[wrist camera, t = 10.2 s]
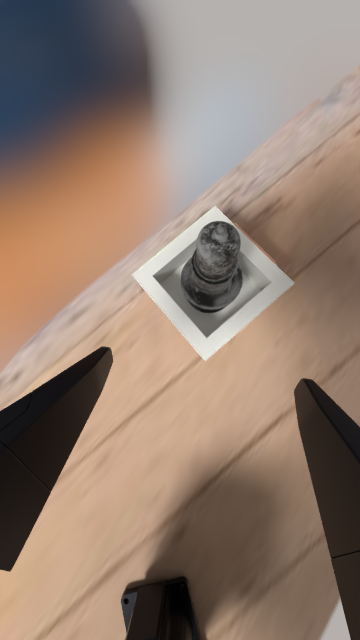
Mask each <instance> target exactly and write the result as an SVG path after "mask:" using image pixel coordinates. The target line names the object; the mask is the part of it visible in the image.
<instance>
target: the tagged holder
mask: <svg viewBox="0 0 360 640" xmlns="http://www.w3.org/2000/svg"><path fill="white" fill-rule="evenodd" d="M214 221H224V222H227V223H230V224H231V225H233V226H234V227H235V228H236V229H237V231H238V233H239V235H240V240H241V245H240V250H239V253H238V255H237V257H238V265H239V267H240V269H241V271H242V277H243V282H242V288H241V290H240V293H239V295H238V296H237V297H236V298H235V300H234V301H233V302H231V303H230V304H229V305H227V306H226V307H225V308H224V309H222V310H221V311H218V312H216V313H203V312H200V311H198V310H196V309H195V308H193V307H192V306H191V304H190V303H189V302H188V299H187V297H186V296H185V295H184V293H183V290H182V288H181V281H180V278H181V272H182V270H183V267H184V265H185V264H186V263H187V261H188V260H189V259H190V258H191V257H192V256H193V253H194V251H195V250H196V242H197V237H198V235H199V233H200V231H201V229H202V228H203V227H204V226H205V225H207V224H208V223H211V222H214ZM276 263H277V262H276V261H275V260H274V259H273V258H272V257H271V256H269V255H268V254H267V253H266V252H265V251H264V250H263V249H262V248H261V247H260V246H259V245H258V244H257V243H256V242H255V241H254V240H253V239H252V238H251V237H250V236H249V235H248V234H247V233H246V232H245V231H244V230H243V229H242V228H241V227H240V226H238V225H237V224H236V223H235V222H234V223H232V222H231V221H230V220H229V219H228V218H227V217H226V216H225V215H224V214H223V213H222V212H221V211H220V210H219V209H218V208H217V207H216V206H214V207H213V208H212V209H211V210H209V211H208V212H207V213H206V214H205V215H203V216H202V217H201V218H200V219H199V220H197V221H196V222H195V223H194V224H193V225H191V226H190V227H189V228H188V229H186V230H185V231H184V232H183V233H182V234H180V235H179V236H178V237H177V238H176V239H174V240H173V241H172V242H171V243H170V244H168V245H167V246H166V247H165V248H163V249H162V250H161V251H160V252H159V253H157V254H156V255H155V256H154V257H153V258H151V259H150V260H149V261H148V262H147V263H145V264H144V265H143V266H142V267H140V268H139V269H138V270H137V271H136V272H134V273H133V274H132V276H133V277H134V278H135V279H136V281H137V282H138V283H139V284H140V286H141V287H142V288H143V289H144V290H145V291H146V293H147V294H148V295H149V296H150V297H151V298H152V300H153V301H154V302H155V303H156V304H157V306H158V307H159V308H160V309H161V310H162V311H163V313H164V314H165V315H166V316H167V317H168V318H169V320H170V321H171V322H172V323H173V324H174V325H175V327H176V328H177V329H178V330H179V331H180V333H181V334H182V335H183V336H184V337H185V338H186V340H187V341H188V342H189V343H190V344H191V345H192V347H193V348H194V349H195V350H196V351H197V353H198V354H199V355H200V356H201V357H202V358H203V360H204V361H206V360H207V359H208V358H209V357H210V356H212V355H213V354H214V353H215V352H216V351H217V350H219V349H220V348H221V347H222V346H223V345H224V344H225V343H227V342H228V341H229V340H230V339H231V338H232V337H234V336H235V335H236V334H237V333H238V332H239V331H240V330H242V329H243V328H244V327H245V326H246V325H247V324H249V323H250V322H251V321H252V320H253V319H254V318H255V317H257V316H258V315H259V314H260V313H261V312H262V311H264V310H265V309H266V308H267V307H268V306H269V305H270V304H272V303H273V302H274V301H275V300H276V299H277V298H279V297H280V296H281V295H282V294H283V293H284V292H285V291H287V290H288V289H289V288H290V287H291V286H292V285H294V284H295V283H294V282H293V281H292V280H291V279H290V278H289V277H288V276H287V275H286V274H285V273H284V272H283V271H282V270H281V269H280V268H279V267H278V266H277V265H276Z"/></svg>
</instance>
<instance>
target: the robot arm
mask: <svg viewBox="0 0 360 640" xmlns="http://www.w3.org/2000/svg"><path fill="white" fill-rule="evenodd" d="M112 363H113V356H112V351H111V348H109V347H100V348H99V349H97V350H96V351H94V352H92V353H91V354H89V355H88V356H86V357H85V358H83V359H82V360H80V361H78V362H77V363H75V364H74V365H72V366H71V367H69V368H68V369H66V370H64V371H63V372H61V373H60V374H58V375H57V376H55V377H54V378H52V379H51V380H49V381H47V382H46V383H44V384H43V385H41V386H40V387H38V388H37V389H35V390H33V391H32V392H30V393H29V394H27V395H26V396H24V397H22V398H21V399H19V400H18V401H16V402H14V403H13V404H11V405H10V406H8V407H6V408H4V409H3V410H1V411H0V570H5V571H9V572H10V571H11V570H12V568H13V566H14V564H15V562H16V560H17V558H18V556H19V554H20V552H21V550H22V549H23V547H24V545H25V543H26V541H27V539H28V537H29V535H30V533H31V531H32V529H33V527H34V525H35V523H36V521H37V519H38V517H39V515H40V513H41V511H42V509H43V507H44V505H45V503H46V501H47V499H48V497H49V495H50V493H51V491H52V489H53V487H54V485H55V483H56V481H57V479H58V477H59V475H60V473H61V471H62V469H63V467H64V465H65V463H66V461H67V459H68V457H69V456H70V454H71V452H72V450H73V448H74V446H75V444H76V442H77V440H78V438H79V436H80V434H81V432H82V430H83V428H84V426H85V424H86V422H87V420H88V418H89V416H90V414H91V412H92V410H93V408H94V406H95V404H96V402H97V400H98V398H99V396H100V394H101V392H102V390H103V387H104V385H105V382H106V379H107V377H108V374H109V371H110V369H111V366H112ZM294 396H295V404H296V412H297V419H298V426H299V431H300V435H301V439H302V443H303V447H304V451H305V455H306V459H307V463H308V467H309V471H310V475H311V480H312V484H313V488H314V492H315V496H316V500H317V504H318V508H319V512H320V516H321V520H322V524H323V528H324V532H325V536H326V540H327V544H328V548H329V552H330V556H331V558H332V559H331V561H332V565H333V569H334V573H335V577H336V581H337V585H338V589H339V593H340V597H341V602H342V605H343V610H344V614H345V618H346V622H347V625H348V629H349V633H350V638H351V640H360V427H359V426H358V425H357V424H356V423H355V422H354V421H353V420H352V419H351V418H350V417H349V416H348V415H347V414H346V413H345V412H344V411H343V410H342V409H341V408H340V407H339V406H338V405H337V404H336V403H335V402H334V401H333V400H332V399H331V398H330V397H329V396H328V395H327V394H326V393H325V392H324V391H323V390H322V389H321V388H320V387H319V386H318V385H317V384H316V383H315V382H314V381H313V380H311V379H305V378H302V379H301V380H300V382H299V383H298V385H297V386H296V388H295V390H294ZM181 585H184V586H181ZM126 598H128V599H126ZM121 604H122V610H123V615H124V621H125V627H126V632H127V635H126V639H125V640H201V637H200V633H199V628H198V624H197V620H196V615H195V611H194V606H193V602H192V598H191V593H190V589H189V585H188V581H187V579H186V578H185V577H179V578H175V579H171V580H167V581H163V582H158V583H154V584H150V585H146V586H142V587H137V588H133V589H129V590H126V591H124V592H123V595H122V599H121Z"/></svg>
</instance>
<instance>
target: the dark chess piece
mask: <svg viewBox="0 0 360 640" xmlns="http://www.w3.org/2000/svg"><path fill="white" fill-rule="evenodd" d="M240 245H241V240H240V235H239V233H238V231H237V229H236V228H235V227H234V226H233V225H231V224H230V223H227V222H224V221H214V222H211V223H208V224H207V225H205V226H204V227H203V228H202V229H201V231H200V233H199V235H198V237H197V242H196V250H195V251H194V253H193V256H192V257H191V258H190V259H189V260H188V261H187V263H186V264H185V265H184V267H183V270H182V272H181V278H180V281H181V288H182V290H183V293H184V295H185V296H186V297H187V299H188V302H189V303H190V304H191V306H192V307H193V308H195V309H196V310H198V311H200V312H203V313H216V312H218V311H221V310H222V309H224V308H225V307H226V306H227V305H229V304H230V303H231V302H233V301H234V300H235V298H236V297H237V296H238V295H239V293H240V290H241V288H242V282H243V277H242V271H241V269H240V267H239V265H238V257H237V255H238V253H239V250H240Z"/></svg>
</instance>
